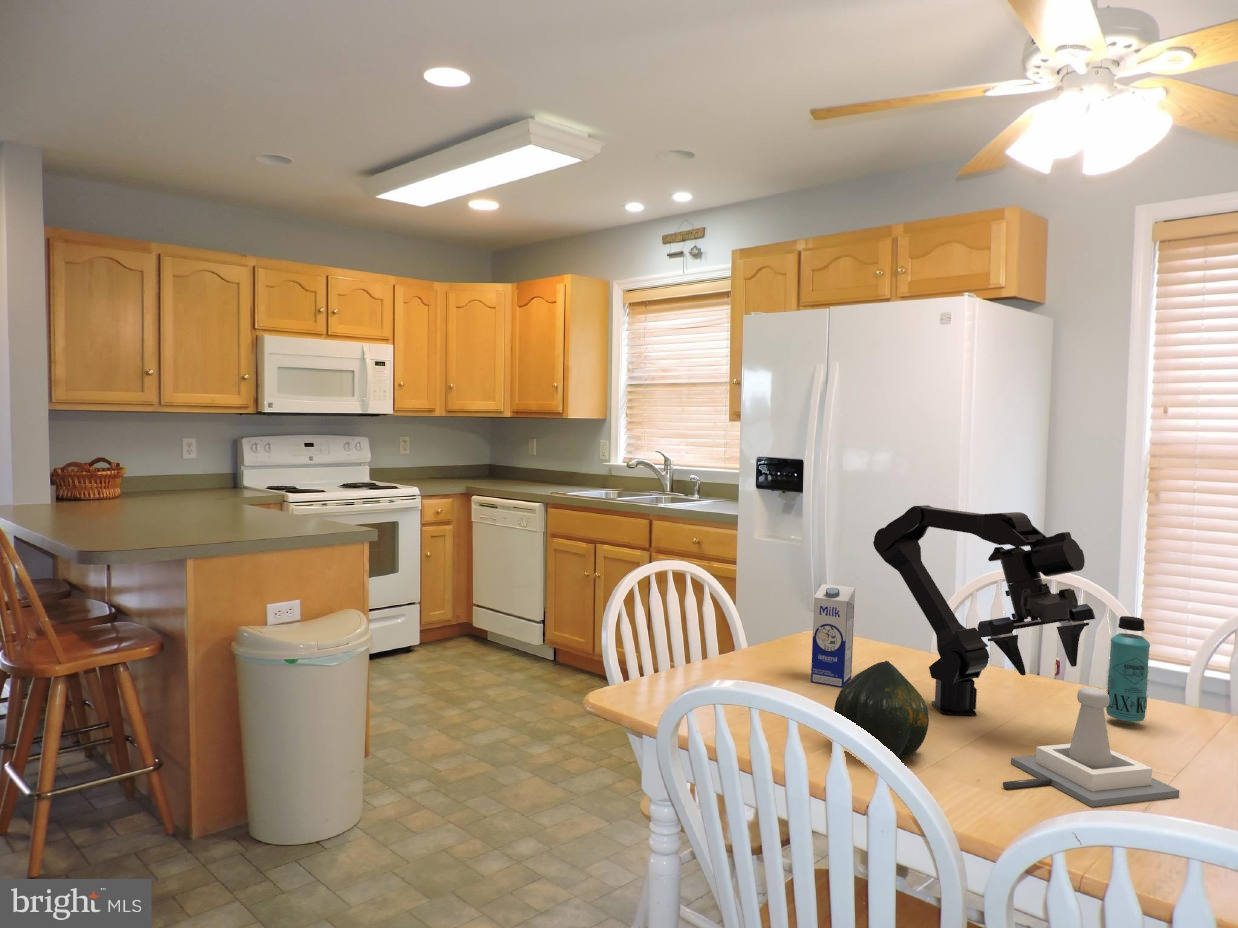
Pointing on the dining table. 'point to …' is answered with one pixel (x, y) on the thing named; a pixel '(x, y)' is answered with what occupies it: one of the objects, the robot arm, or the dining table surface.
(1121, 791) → the dock
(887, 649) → the dining table surface
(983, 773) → the dining table surface
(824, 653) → the milk carton
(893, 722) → the squash
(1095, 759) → the salt shaker
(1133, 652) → the beverage bottle
